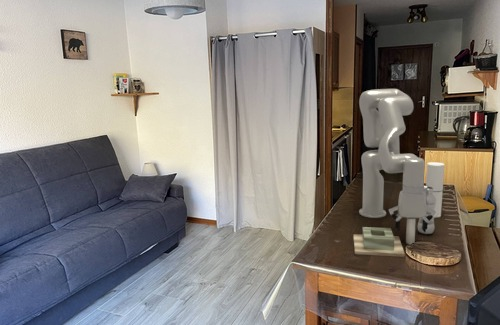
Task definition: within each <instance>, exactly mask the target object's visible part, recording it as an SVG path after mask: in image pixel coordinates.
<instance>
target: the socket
mask: <svg viewBox="0 0 500 325" xmlns="http://www.w3.org/2000/svg"><path fill="white" fill-rule="evenodd" d="M352 235H353V237H352V238H353V245H354V246H353V248H354V255H363V256H364V255H366V256H367V255H368V256H380V257H381V256H384V257H395V258H396V257H397V258H398V257H399V258H406V253H405V251H404V247H403V245H402V243H401V239H400V236H395V235H394V233H393V231H392V228H391V227H372V226H371V227H368V226H362V233H361V234H355V233H354V234H352Z"/></svg>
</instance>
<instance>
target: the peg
mask: <svg viewBox="0 0 500 325" xmlns="http://www.w3.org/2000/svg"><path fill="white" fill-rule="evenodd" d="M416 219H417V218H409V217H406V232H405V243H406V244H408V245H411V244H412V243H414V244H415V243H416V242H415V241H416V240H415V239H416V238H415V237H416ZM412 245H413V244H412Z"/></svg>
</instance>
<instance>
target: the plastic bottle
mask: <svg viewBox="0 0 500 325" xmlns="http://www.w3.org/2000/svg"><path fill="white" fill-rule="evenodd" d="M424 192H425V196H426V206H427V207H429V208H431V209H433V210H434V209H435V205H436V198H435V196H434V195H433V187H428V189H427V190H424ZM430 213H431V212H429V211H427V210H426V217H427V216H428V215H429V214H430ZM423 220H424V219H423V218H418V221H417V230H418V232H419V233H420V234H424V235H431V234H433V232H434V231H435V221H434V220H435V217H434V216H433V218H432V219H431V220H430V221H429V222H428V225H427V229H426V232H424V231H423V230H422V222H423Z"/></svg>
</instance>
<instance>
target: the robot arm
mask: <svg viewBox="0 0 500 325" xmlns="http://www.w3.org/2000/svg"><path fill="white" fill-rule="evenodd" d="M358 104H359V110H360V113H361V116H362V126H363V130H362V131H363V132H362V133H363V141H364V146H365V147H367V148H378V149H374V150H372V149H370V150H367V151H365V152H363V153H362V155H361V158H360V159H361V167H362V208H359V211H358V213H359V215H361V216H362V217H365V218H371V219H379V218H384V217H385V216H387V211H386V210H385V209H384V185H385V183H384V182H385V180H384V176H383V175H382V174H381V173H380V171H381V170H383V171H384V172H385V173H387V174H398V173H399V174H400V173H402V189H401V190H400V191H399V196H398V201H397V202H398V203H397V205H396V206H392V207H391V208H389V209H388V212H389V215H390V216H391V217H392V218H393V219H394V220H395V224H394V226H395V229H396V230H397V231H398V232H399V231H400V230H401V229H400V228H401V219H402V218H407V217H409V218H416V219H417V218H418V219H419V218H423V219H424V220H423V222H422V230H423V231H424V232H426V229H427V225H428V222H429V221H430V220H431V219H432V218H433V216H434V215H435V213H436V211H435V210H433V209H431V208H429V207H427V206H426V196H425V192H424V190H427V189H428V187H427V186H426V185H424V184H425V168H426V167H425V165H426V162H425V159H424V158H422V157H418V156H417V155H415V154H414V153H400V136H401V135H403V134H404V133H405V131H406V124H405V121H404V117H403V116H409V115H412V113H413V111H414V102H413V99H412V98H411V96H409V94H407V93H404V92H403V91H401V90H400V89H398V88H380V89H379V88H377V89H370V90H366V91H362V93H361V95H360V96H359V101H358ZM426 210H427V211H429V212H431V213H430V214H429V215H428V216H427V217H426ZM396 211H397V214H395V213H394V212H396Z"/></svg>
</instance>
